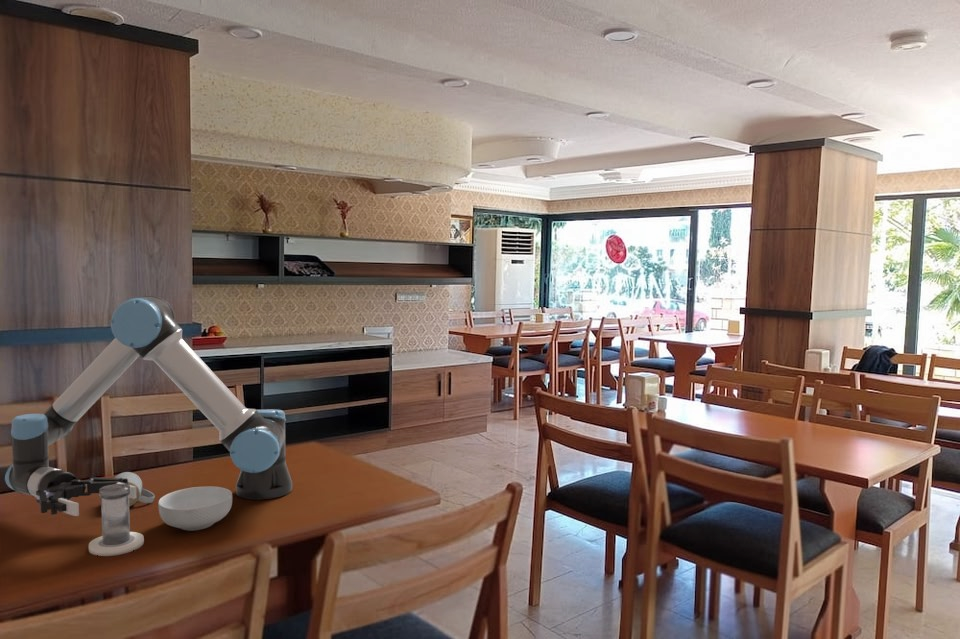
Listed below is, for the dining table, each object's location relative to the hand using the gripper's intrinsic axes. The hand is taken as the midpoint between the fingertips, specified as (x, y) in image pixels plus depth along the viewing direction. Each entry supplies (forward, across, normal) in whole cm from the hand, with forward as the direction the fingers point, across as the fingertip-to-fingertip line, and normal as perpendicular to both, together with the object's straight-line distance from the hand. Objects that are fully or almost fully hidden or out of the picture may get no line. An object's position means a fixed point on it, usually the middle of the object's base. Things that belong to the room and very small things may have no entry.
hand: (107, 501), depth 159 cm
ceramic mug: (-21, -20, -10) cm, 30 cm away
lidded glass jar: (+3, 0, -9) cm, 9 cm away
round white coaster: (+3, 0, -10) cm, 10 cm away
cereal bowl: (+7, -18, -10) cm, 22 cm away
